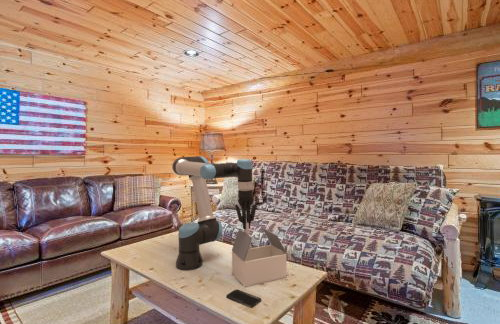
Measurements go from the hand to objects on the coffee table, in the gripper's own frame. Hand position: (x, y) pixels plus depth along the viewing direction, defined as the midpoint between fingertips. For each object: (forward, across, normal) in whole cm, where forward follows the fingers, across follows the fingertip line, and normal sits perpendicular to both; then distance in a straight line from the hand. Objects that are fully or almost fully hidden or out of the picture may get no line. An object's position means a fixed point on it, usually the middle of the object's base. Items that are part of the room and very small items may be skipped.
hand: (246, 235), depth 147 cm
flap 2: (+5, +16, 0) cm, 16 cm away
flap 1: (+4, -3, 0) cm, 5 cm away
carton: (+23, +6, 0) cm, 24 cm away
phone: (+23, -10, -17) cm, 31 cm away
